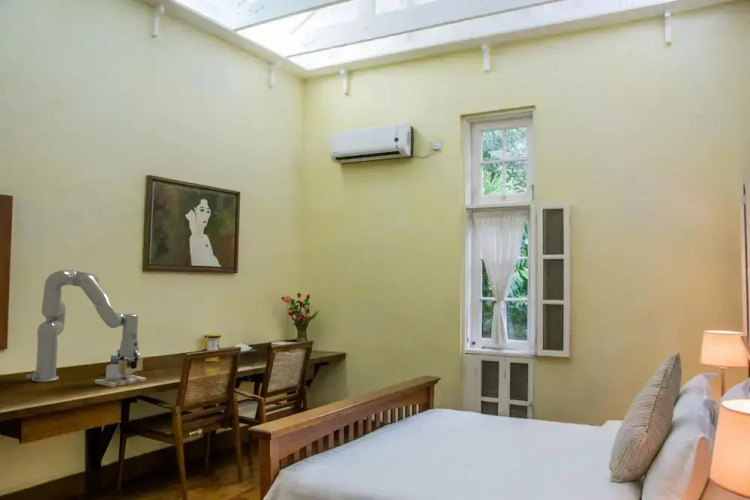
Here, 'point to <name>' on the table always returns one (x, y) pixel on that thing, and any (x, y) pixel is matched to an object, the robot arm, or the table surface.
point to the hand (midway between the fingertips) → (127, 367)
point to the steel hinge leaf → (115, 372)
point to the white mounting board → (121, 381)
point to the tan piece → (127, 366)
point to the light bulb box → (116, 359)
